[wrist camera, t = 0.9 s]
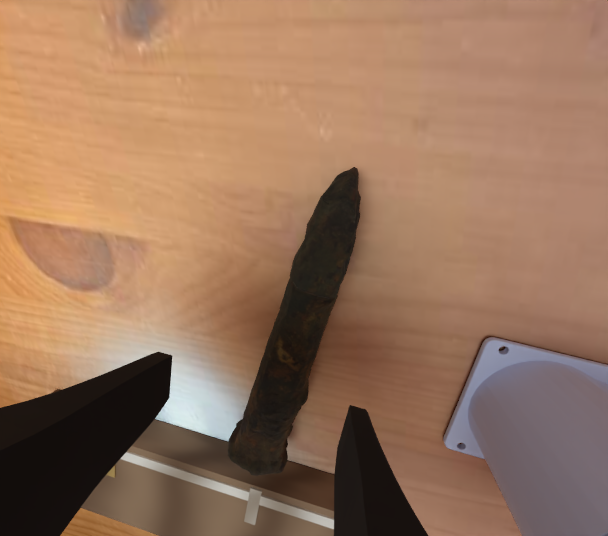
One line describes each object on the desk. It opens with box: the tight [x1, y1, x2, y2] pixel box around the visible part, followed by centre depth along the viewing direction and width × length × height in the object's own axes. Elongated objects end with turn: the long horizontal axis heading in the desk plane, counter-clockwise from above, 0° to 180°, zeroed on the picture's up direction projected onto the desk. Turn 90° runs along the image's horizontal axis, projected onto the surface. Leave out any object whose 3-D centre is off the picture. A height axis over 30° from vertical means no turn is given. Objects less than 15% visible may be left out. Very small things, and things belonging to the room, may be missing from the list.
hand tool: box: [228, 167, 361, 476], centre depth 17 cm, size 19×4×5 cm, turn 159°
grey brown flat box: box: [53, 389, 335, 536], centre depth 22 cm, size 26×8×3 cm, turn 78°
